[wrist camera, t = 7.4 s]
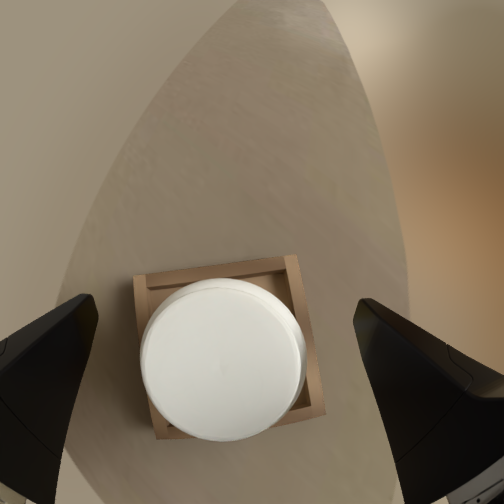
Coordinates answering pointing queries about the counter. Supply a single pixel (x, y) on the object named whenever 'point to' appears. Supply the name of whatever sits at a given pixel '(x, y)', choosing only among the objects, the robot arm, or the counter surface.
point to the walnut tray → (255, 272)
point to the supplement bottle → (223, 359)
